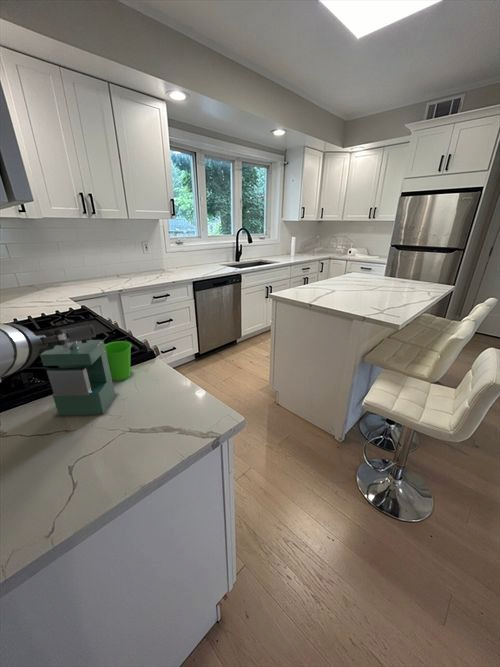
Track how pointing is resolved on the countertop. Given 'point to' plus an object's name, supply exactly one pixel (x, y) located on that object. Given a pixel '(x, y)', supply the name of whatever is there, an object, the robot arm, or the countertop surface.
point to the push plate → (69, 381)
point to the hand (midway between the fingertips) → (48, 340)
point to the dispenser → (97, 371)
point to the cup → (119, 359)
